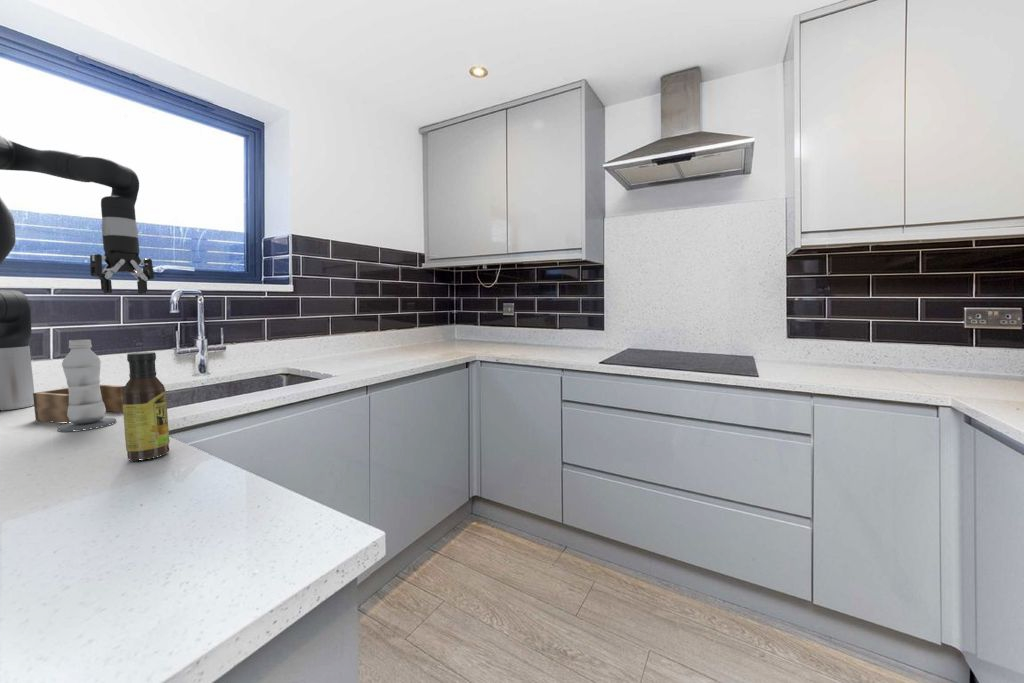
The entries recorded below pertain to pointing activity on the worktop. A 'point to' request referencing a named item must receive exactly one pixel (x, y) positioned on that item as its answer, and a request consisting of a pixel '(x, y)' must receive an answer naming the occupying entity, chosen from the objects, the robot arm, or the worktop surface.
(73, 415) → the plastic bottle
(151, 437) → the sauce bottle
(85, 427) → the mat
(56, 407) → the holder
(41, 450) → the worktop surface
